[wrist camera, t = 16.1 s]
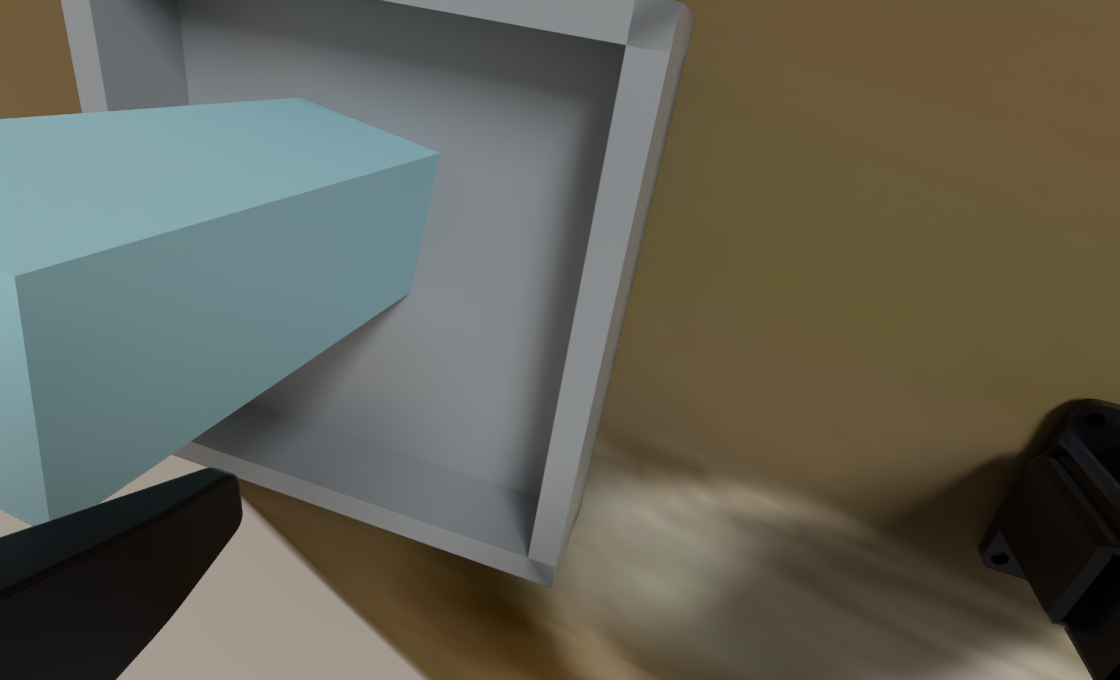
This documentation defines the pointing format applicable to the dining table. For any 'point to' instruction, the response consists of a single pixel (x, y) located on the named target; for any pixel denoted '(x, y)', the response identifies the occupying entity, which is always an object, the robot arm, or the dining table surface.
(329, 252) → the carton
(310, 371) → the gray square tray
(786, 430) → the dining table surface
